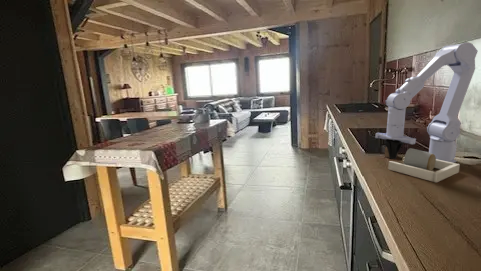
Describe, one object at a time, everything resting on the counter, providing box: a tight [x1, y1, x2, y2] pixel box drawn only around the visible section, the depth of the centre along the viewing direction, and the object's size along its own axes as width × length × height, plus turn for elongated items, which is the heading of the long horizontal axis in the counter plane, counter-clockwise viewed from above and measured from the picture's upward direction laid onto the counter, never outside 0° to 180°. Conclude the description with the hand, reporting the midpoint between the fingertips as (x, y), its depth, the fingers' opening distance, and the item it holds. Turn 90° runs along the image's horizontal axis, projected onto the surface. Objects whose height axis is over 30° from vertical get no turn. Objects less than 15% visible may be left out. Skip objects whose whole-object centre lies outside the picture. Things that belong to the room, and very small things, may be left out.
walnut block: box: [384, 146, 399, 158], centre depth 112 cm, size 4×4×4 cm
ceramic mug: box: [403, 147, 436, 171], centre depth 96 cm, size 11×8×8 cm
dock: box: [387, 159, 460, 183], centre depth 95 cm, size 15×16×3 cm
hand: (392, 158), depth 104 cm, fingers closed
